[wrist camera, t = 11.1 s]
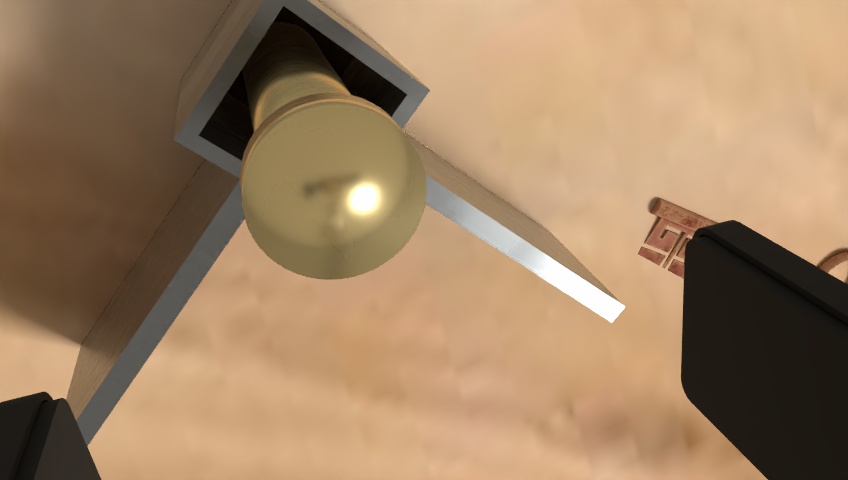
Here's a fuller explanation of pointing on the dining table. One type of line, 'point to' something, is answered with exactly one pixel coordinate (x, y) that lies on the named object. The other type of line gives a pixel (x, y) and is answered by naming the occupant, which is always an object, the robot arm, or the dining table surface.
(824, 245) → the dining table surface
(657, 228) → the key
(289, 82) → the hinge pin
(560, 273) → the bracket
